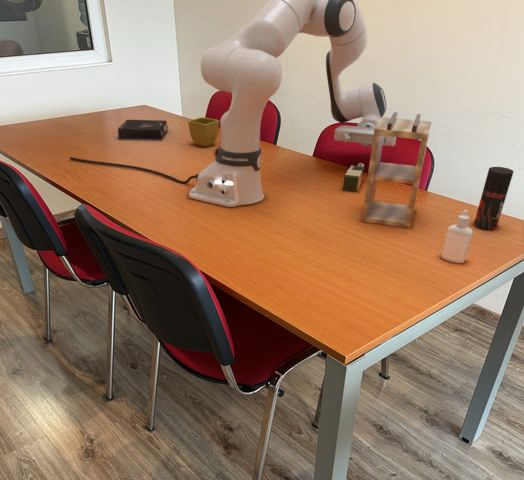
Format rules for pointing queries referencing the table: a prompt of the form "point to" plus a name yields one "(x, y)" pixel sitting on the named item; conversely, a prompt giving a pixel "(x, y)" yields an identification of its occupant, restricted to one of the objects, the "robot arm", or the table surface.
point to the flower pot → (203, 131)
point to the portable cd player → (142, 130)
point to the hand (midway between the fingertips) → (362, 141)
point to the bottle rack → (394, 171)
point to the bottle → (353, 178)
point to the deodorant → (493, 198)
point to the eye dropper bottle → (457, 240)
